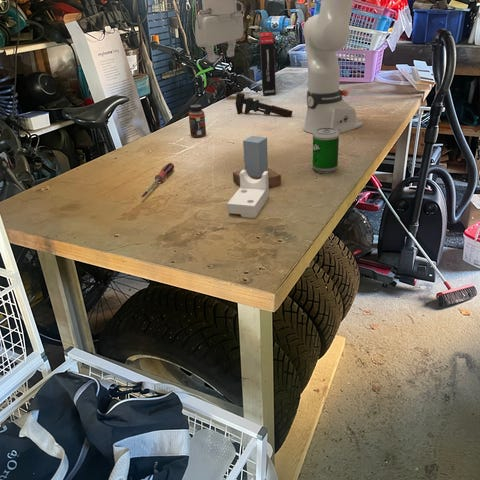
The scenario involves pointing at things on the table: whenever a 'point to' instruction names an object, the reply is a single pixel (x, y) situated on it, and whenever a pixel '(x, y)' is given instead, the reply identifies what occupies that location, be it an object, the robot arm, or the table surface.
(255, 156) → the gray block
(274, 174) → the walnut block
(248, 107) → the adjustable wrench
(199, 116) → the supplement bottle
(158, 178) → the screwdriver
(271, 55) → the graphics card box
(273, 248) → the table surface
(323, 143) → the soda can
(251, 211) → the bracket
